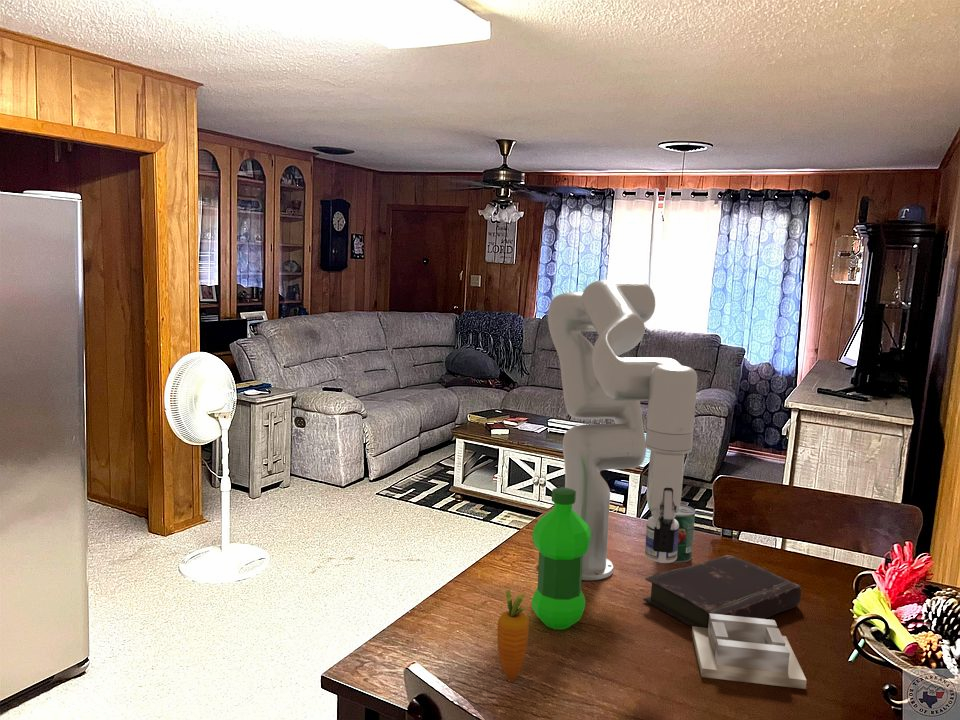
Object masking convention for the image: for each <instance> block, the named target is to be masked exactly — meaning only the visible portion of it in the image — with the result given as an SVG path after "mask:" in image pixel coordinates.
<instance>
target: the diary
mask: <svg viewBox="0 0 960 720" xmlns="http://www.w3.org/2000/svg"><path fill="white" fill-rule="evenodd" d="M645 581H648V582H650V583H651V591H650V596H649V597H645V598H643V601H644V602H646V603H648V604H650V605H652V606H653V607H655V608H657V609H659V610H661V611H662V612H664V613H666V614H668V615H670V616H672V617H674V618H675V619H677V620H679V621H680V622H682V623H684V624H686V625H687V626H689V627H691V628H692V626H694V627H704V628H708V624H709V613H711V614H720V615H730V616H740V617H750V618H759V619H767V618H770V617H772V616H775V615H777V614H779V613H781V612H785V611H789V610H790V609H791V610H792V609H794V608H796V607H799V605H800V602H801V598H802V587H801V585H800V584H798V583H795V582H793V581H790V580H789V579H786V578H784V577H781V576H779V575H777V574H776V573H773V572H772V571H769V570H768V569H766V568H763V567H761V566H758V565H756V564H755V563H751V562H750V561H747V560H745V559H741V558H739V557H737V556H733V555H730V554H726V555H723V556H722V555H721V556H719V557H715V558H713V559H710V560H706V561H702V562H699V563H697V564H693V565H690V566H686V567H681V568H676V569H670V570H666V571H663V572H660V573H657V574H654V575H651V576H647V577H645Z"/></svg>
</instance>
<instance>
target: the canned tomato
mask: <svg viewBox="0 0 960 720" xmlns="http://www.w3.org/2000/svg"><path fill="white" fill-rule="evenodd" d="M695 518H696V510H695V508H693V507H691V506H688V505H686V504H682V503H680V509H679V511H678V512H677V513H676V517H675V518H674V519H676V520H677V521H678V523H679V534H678V550H677V559H676V560H675V561H674V562H673V563H677V564H680V563H687V562H690V561H691V560H692V559H693V544H694V534H695V533H694V532H695Z"/></svg>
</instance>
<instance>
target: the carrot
mask: <svg viewBox="0 0 960 720" xmlns="http://www.w3.org/2000/svg"><path fill="white" fill-rule="evenodd" d="M505 595H506V599H507V600H506V601H507V602H506V603H507V609H508V610H507V611H504V612H502V613H501V614H500V616H499V617H498V619H497V651H498V656H499V661H500V666H501V669H502V671H503V674H504V675H505V677H506V680H507V681H508V682H509V683H513V682H515V681H516V679H517V677H518V675H519V673H520V672H521V669H522V667H523V664H524V662H525V659H526V658H525V657H526V655H527V649H528V643H529V642H528V641H529V632H530V629H529V628H530V619H529V617H528V616H527V615H526V614H524V610H525V608H524V607H523V606H521V607H519V606H520V605H521V604H522V601H523V599H524V598H525V596H526V594H524V593H522V594H518V595H517V596H516V598H515V601H514V602H513V598H512V594H511V592H510V589H508V590H506V591H505Z"/></svg>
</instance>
